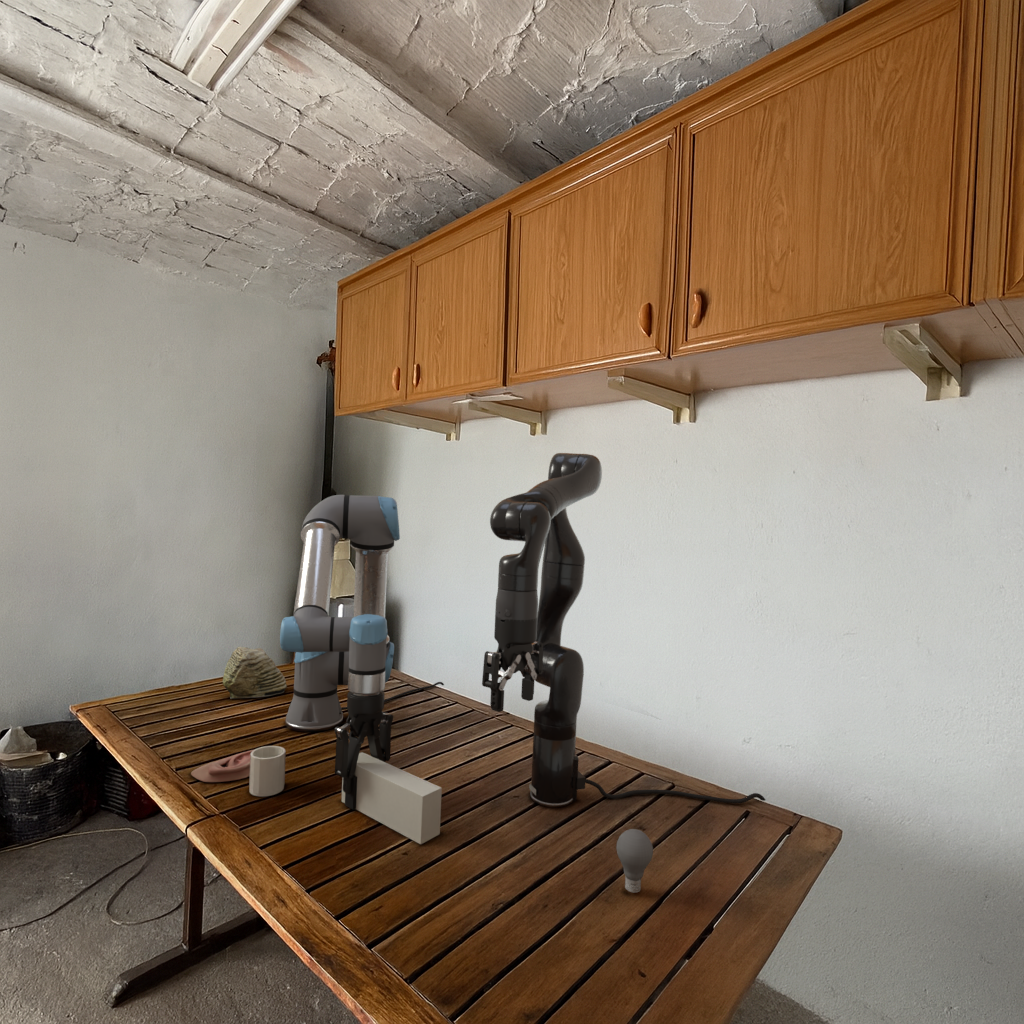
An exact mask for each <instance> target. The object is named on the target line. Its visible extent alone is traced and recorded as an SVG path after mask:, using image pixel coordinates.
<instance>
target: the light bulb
mask: <svg viewBox="0 0 1024 1024" xmlns="http://www.w3.org/2000/svg"><path fill="white" fill-rule="evenodd" d="M615 849H616V854H617V857H618V859H619V861H620V863H621V865H622V867H623V873H624V874H623V875H624V876H625V878H624V888H625V890H627V891H628V892H630V893H634V894H635V893H639V892H640V891H641V889H642V887H641V886H642V879H643V877H644V875H645V871H646V868H647V867H648V866H649V864H650V863H651V861H652V859H653V855H654V847H653V843H652V841H651V838H649V836H648V835H647V834H646V833H645V832H643V831H642V830H641V829H636V828H629V829H627V830H625V831H623V832H622V833H621V834H620V835H619V837H618V839H617V841H616V847H615Z"/></svg>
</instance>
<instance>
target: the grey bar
mask: <svg viewBox="0 0 1024 1024" xmlns="http://www.w3.org/2000/svg"><path fill="white" fill-rule="evenodd" d="M354 775H355V776H357V796H356V809H355V810H356V811H358V812H360V813H362V814H363V815H366V816H367V817H369V818H371V819H373V820H374V821H376V822H378V823H380V824H382V825H384V826H386V827H387V828H389V829H391V830H393V831H395V832H397V833H398V834H400V835H402V836H403V837H406V838H408V839H410V840H411V841H413V842H415V843H417V844H419V845H423V844H424V843H426V842H428V841H430V840H432V839H434V838H435V837H437V836H439V835H440V834H441V817H442V815H441V814H442V810H441V809H442V790H443V787H441V786H439V785H436V784H435V783H432V782H430V781H427V780H426V779H423V778H421V777H419V776H416V775H414V774H412V773H410V772H408V771H406V770H403V769H401V768H399V767H396V766H394V765H392V764H390V763H387V762H383V761H381V760H379V759H376V758H374V757H372V756H371V754H368V753H365V752H363V751H361V752H359V756H358V761H357V765H356V769H355V773H354ZM341 779H342V780H341V802H342V803H343V804H345V792H344V791H343V778H342V777H341Z"/></svg>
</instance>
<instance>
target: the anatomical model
mask: <svg viewBox="0 0 1024 1024" xmlns="http://www.w3.org/2000/svg"><path fill="white" fill-rule="evenodd" d="M253 750H254V749H251V750H247V751H243V752H240V753H236V754H234V755H231V756H228V757H225V758H222V759H219V760H216V761H211V762H209V763H206V764H204V765H201V766H198V767H197V768H195V769H193V770H192V771H191V773H190V775H191V776H192V777H193V778H194V779H196V780H198V781H201V782H203V783H221V782H230V781H231V782H233V781H237V780H241V779H246V778H248V777H250V753H251V752H252V751H253Z"/></svg>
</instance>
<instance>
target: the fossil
mask: <svg viewBox="0 0 1024 1024" xmlns="http://www.w3.org/2000/svg"><path fill="white" fill-rule="evenodd" d="M222 676H223V677H222V685H223V687H224V688H225V690H226V691H228V693H229V698H230V699H250V698H264V697H271V696H275V695H281V694H284V693H285V691H286V689H287V687H288V686H287V680H286V678H285V676H284V674H283V673H282V672H281V669H279V668H278V667H277V665H276V663H275V662H274V660H273V659H272V658H271V657H270V656H269V655H268V654H267V653H266V652H265V650H264V649H263V648H260V647H258V648H251V647H247V646H246V647H245V646H238V647H237V648H236V649H235V650H233V651H232V653H231V656H230V657H229V659H228V660H227V663H226V666H225V668H224V671H223V675H222Z"/></svg>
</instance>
